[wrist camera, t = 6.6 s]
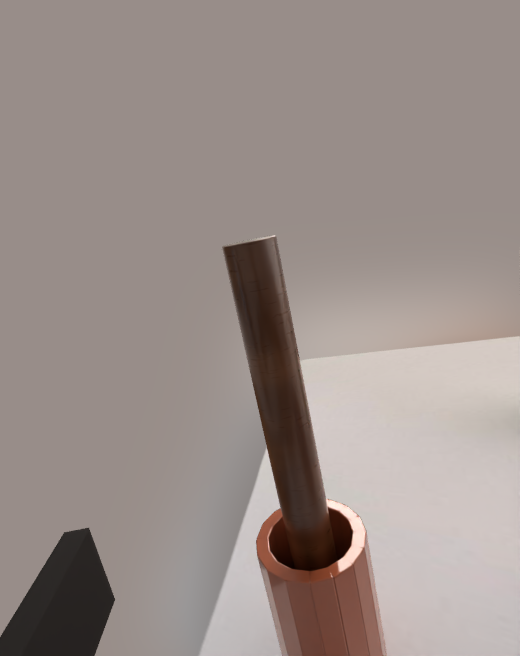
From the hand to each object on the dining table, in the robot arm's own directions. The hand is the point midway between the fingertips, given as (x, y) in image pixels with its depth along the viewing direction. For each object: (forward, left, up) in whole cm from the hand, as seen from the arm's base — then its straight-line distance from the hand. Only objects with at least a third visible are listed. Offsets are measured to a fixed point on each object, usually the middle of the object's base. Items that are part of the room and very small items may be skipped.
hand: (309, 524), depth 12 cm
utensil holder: (+3, +7, -16) cm, 18 cm away
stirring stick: (+3, +7, -16) cm, 18 cm away
